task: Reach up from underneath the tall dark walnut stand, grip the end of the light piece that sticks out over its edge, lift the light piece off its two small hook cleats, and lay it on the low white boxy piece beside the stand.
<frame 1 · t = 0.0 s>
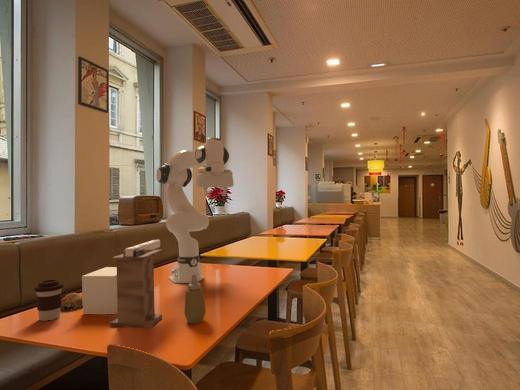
hand: (215, 196, 176), 48 cm above the table, tool pointing down, fingers open, 8 cm apart
walnut stand: (140, 319, 136), on the table
white boxy piece: (110, 307, 152), on the table
bread roll: (72, 308, 154), on the table
squeeze bottle: (195, 322, 132), on the table
light piece: (144, 251, 141), point 26 cm above the table, touching walnut stand
coffee cup: (49, 318, 140), on the table
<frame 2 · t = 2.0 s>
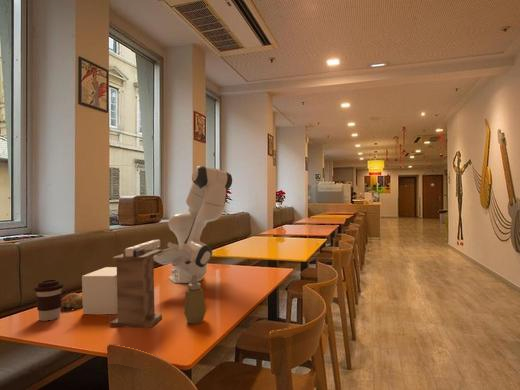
hand: (161, 246, 162), 25 cm above the table, tool pointing upward, fingers open, 8 cm apart
nothing on the table moved.
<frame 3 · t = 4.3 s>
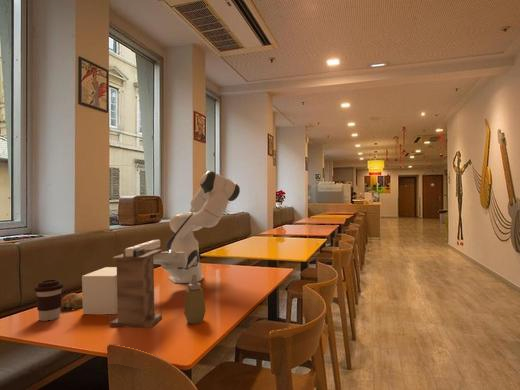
hand: (160, 251, 158), 23 cm above the table, tool pointing upward, fingers open, 8 cm apart
nothing on the table moved.
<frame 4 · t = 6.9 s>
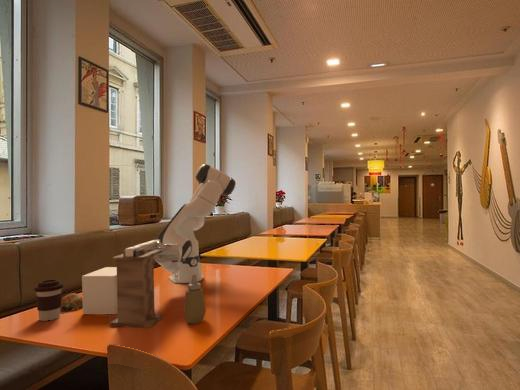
hand: (153, 243, 150), 28 cm above the table, tool pointing upward, fingers closed on light piece, 3 cm apart
light piece: (144, 251, 141), point 26 cm above the table, touching gripper, walnut stand
everything else where it was.
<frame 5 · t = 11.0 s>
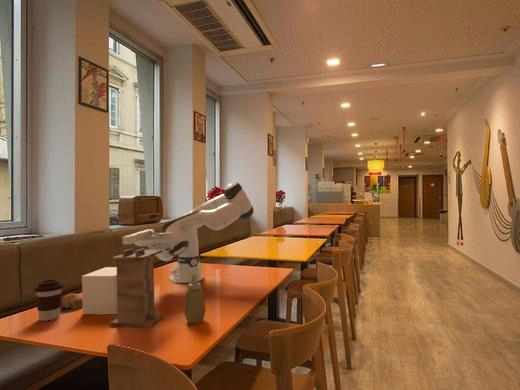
hand: (147, 232, 160), 32 cm above the table, tool pointing upward, fingers closed on light piece, 3 cm apart
light piece: (139, 239, 152), point 30 cm above the table, touching gripper
everything else where it was.
when the fingers open (19 cm above the table, at t = 15.4 s): light piece drops 1 cm, resting on white boxy piece.
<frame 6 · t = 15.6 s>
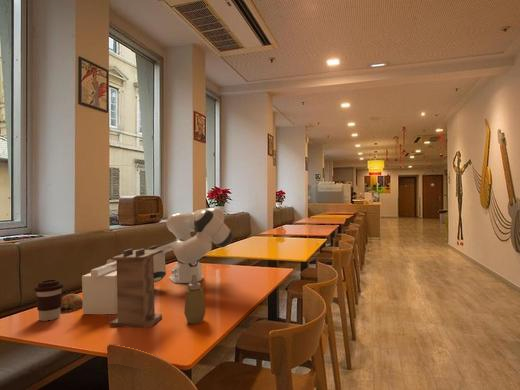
hand: (121, 259, 162), 19 cm above the table, tool pointing upward, fingers open, 5 cm apart
light piece: (111, 270, 153), point 16 cm above the table, touching white boxy piece
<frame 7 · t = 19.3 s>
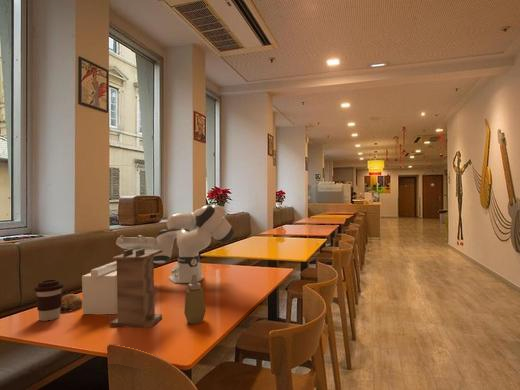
hand: (130, 236, 172), 29 cm above the table, tool pointing upward, fingers open, 8 cm apart
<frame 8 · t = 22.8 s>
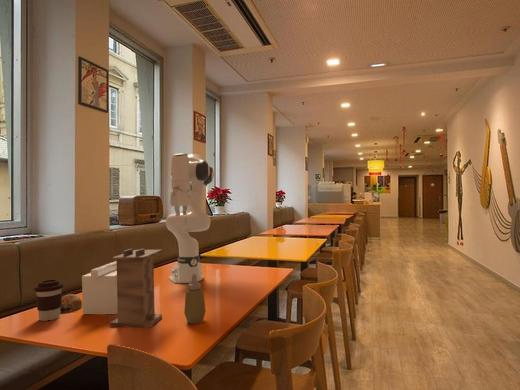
hand: (181, 215, 166), 39 cm above the table, tool pointing down, fingers open, 8 cm apart
at the end: light piece inside the target area on the white boxy piece (1.6 cm from its centre), point 16.0 cm above the white boxy piece's base; the gripper is holding nothing; light piece tilted 0° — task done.
